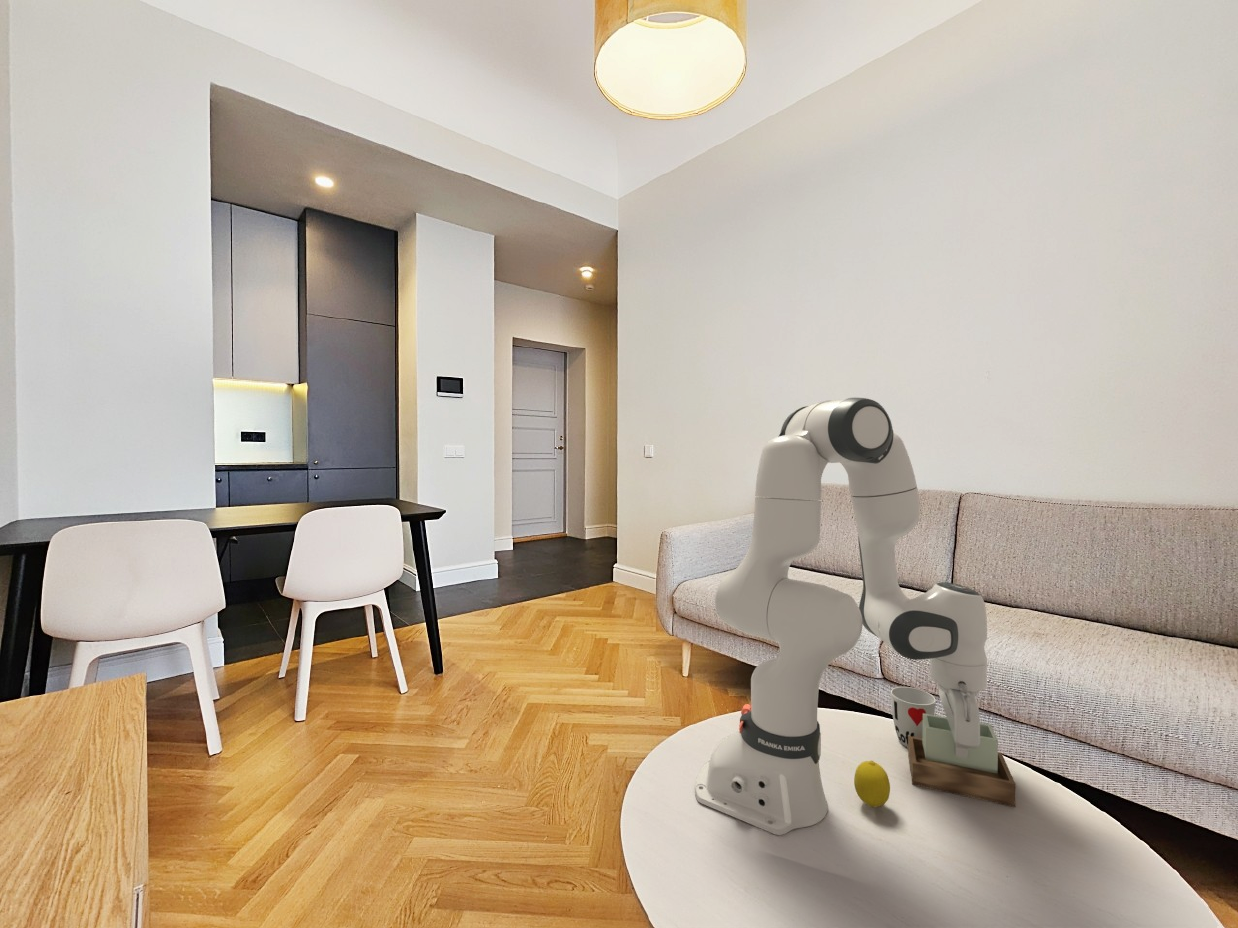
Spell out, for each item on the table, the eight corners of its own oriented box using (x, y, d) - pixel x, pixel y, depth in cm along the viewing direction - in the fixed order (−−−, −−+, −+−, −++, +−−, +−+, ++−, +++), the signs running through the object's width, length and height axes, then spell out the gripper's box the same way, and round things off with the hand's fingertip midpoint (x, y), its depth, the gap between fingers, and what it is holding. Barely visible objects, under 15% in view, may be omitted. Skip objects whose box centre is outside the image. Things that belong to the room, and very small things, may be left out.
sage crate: (925, 759, 98) (926, 727, 98) (922, 743, 103) (922, 713, 103) (997, 773, 94) (998, 740, 93) (990, 755, 99) (990, 724, 98)
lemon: (853, 812, 90) (853, 766, 90) (854, 793, 95) (854, 748, 95) (890, 821, 87) (890, 774, 87) (889, 801, 92) (889, 756, 92)
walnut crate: (912, 784, 97) (912, 762, 97) (908, 755, 106) (908, 735, 106) (1015, 807, 91) (1015, 784, 90) (1001, 774, 100) (1001, 753, 99)
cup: (884, 742, 111) (884, 694, 111) (899, 728, 116) (899, 682, 116) (927, 758, 105) (927, 708, 104) (940, 743, 110) (941, 695, 110)
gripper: (991, 700, 87) (990, 782, 88) (967, 653, 106) (967, 722, 106) (946, 693, 90) (946, 773, 90) (930, 649, 108) (930, 716, 109)
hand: (957, 745), depth 98 cm, fingers closed on sage crate, 5 cm apart
